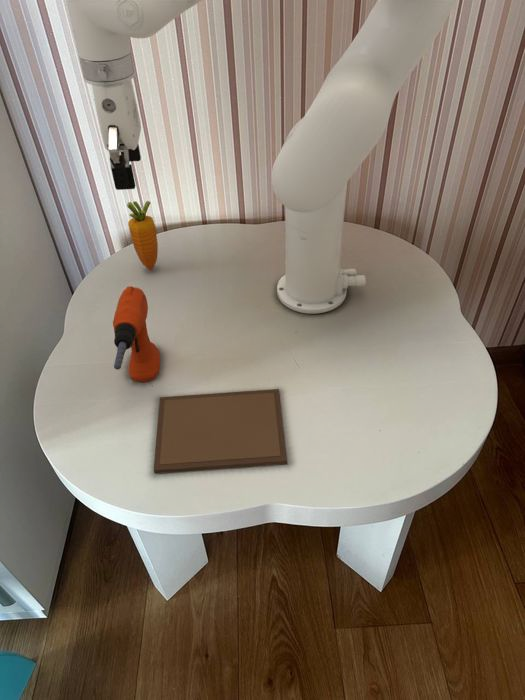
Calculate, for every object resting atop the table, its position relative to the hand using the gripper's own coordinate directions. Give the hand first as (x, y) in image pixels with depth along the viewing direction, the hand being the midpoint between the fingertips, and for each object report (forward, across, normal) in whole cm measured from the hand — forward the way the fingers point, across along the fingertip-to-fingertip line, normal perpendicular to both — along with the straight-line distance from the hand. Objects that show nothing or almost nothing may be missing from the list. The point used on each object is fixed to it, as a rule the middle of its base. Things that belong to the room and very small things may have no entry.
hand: (128, 174), depth 95 cm
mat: (+20, -40, -14) cm, 47 cm away
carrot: (+20, 0, -1) cm, 20 cm away
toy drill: (+20, -30, -2) cm, 36 cm away
